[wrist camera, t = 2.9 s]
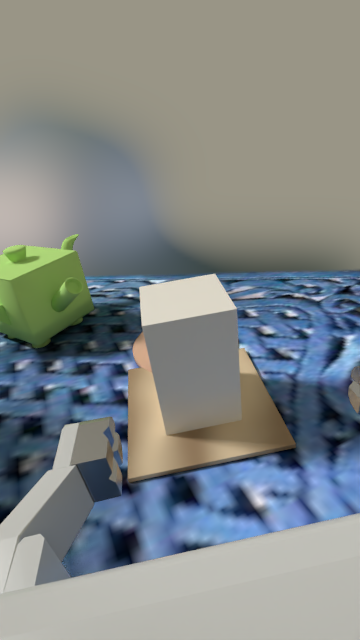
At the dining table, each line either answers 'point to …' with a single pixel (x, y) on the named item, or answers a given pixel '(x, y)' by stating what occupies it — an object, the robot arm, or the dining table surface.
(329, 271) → the dining table surface
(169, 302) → the tall cream pillar
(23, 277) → the kettle
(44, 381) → the dining table surface
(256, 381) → the cork mat
